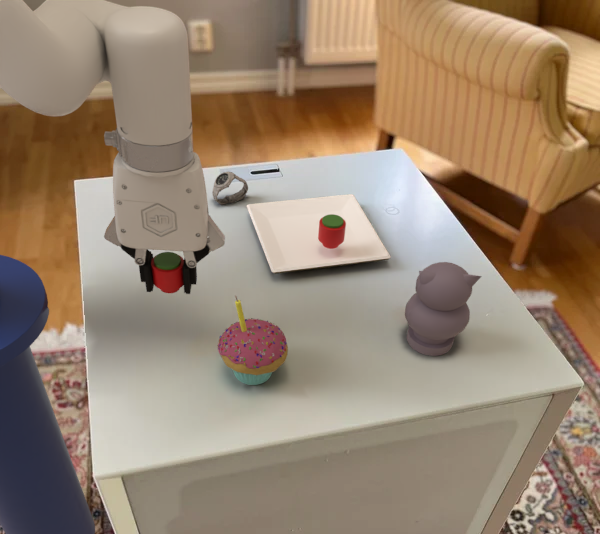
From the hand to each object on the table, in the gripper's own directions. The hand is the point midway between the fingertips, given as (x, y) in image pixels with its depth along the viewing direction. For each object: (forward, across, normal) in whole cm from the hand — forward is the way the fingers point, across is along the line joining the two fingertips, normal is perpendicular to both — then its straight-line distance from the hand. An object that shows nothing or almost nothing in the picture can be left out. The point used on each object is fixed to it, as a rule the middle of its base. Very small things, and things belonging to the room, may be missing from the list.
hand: (169, 285), depth 80 cm
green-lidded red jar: (0, 0, 0) cm, 0 cm away
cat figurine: (+7, +35, 0) cm, 36 cm away
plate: (+8, +20, +23) cm, 31 cm away
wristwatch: (+8, +6, +34) cm, 35 cm away
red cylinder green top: (+5, +22, +19) cm, 30 cm away
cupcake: (+8, +11, -7) cm, 15 cm away
